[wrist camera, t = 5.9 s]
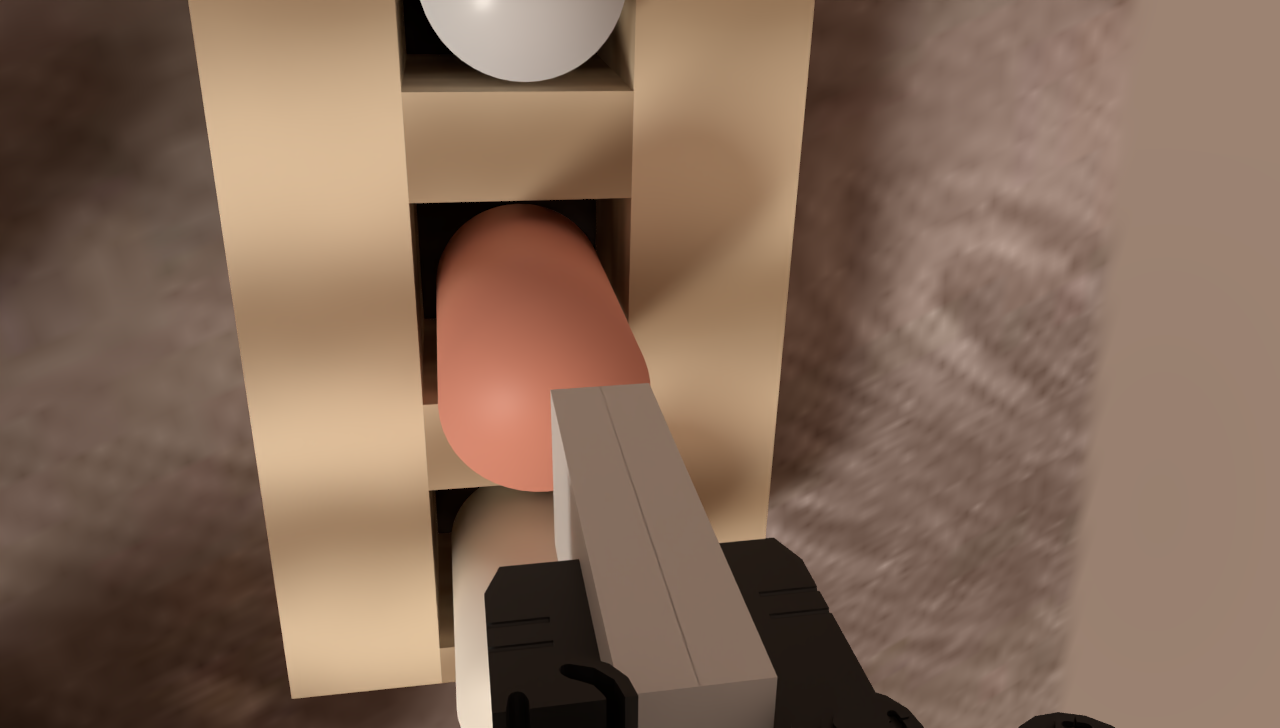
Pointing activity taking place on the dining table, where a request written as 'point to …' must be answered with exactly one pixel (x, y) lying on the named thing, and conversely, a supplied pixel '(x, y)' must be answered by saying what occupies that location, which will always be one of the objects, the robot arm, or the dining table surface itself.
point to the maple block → (392, 287)
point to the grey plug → (523, 34)
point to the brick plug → (522, 338)
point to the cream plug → (490, 578)
